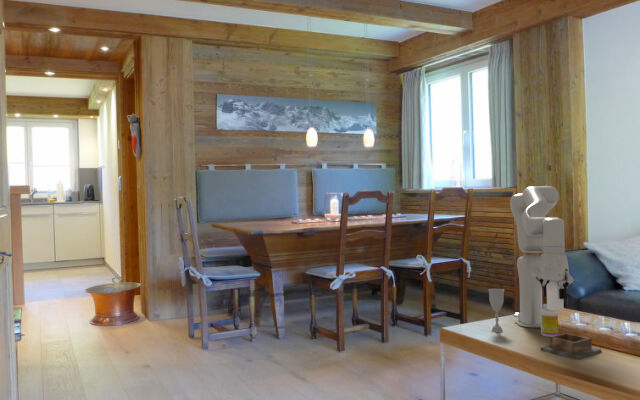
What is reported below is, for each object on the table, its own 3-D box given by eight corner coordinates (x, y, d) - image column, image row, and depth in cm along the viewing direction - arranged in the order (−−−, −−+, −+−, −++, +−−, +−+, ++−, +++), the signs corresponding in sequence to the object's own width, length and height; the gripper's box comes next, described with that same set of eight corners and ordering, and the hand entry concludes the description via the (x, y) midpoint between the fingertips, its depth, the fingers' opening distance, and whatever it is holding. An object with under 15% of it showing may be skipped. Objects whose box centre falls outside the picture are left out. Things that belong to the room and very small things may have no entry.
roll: (544, 278, 206) (547, 276, 210) (545, 309, 206) (548, 306, 210) (561, 279, 202) (564, 277, 207) (562, 310, 202) (565, 308, 207)
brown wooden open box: (540, 349, 205) (540, 336, 205) (564, 343, 213) (563, 330, 213) (577, 359, 192) (577, 345, 192) (601, 352, 200) (600, 338, 200)
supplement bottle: (560, 337, 221) (559, 306, 221) (542, 337, 223) (542, 306, 222) (556, 333, 228) (555, 303, 228) (539, 333, 229) (539, 303, 229)
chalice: (495, 328, 239) (494, 287, 239) (508, 331, 234) (508, 289, 234) (485, 331, 235) (484, 290, 235) (499, 334, 229) (498, 291, 229)
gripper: (528, 249, 212) (529, 295, 212) (568, 252, 197) (569, 301, 197) (540, 248, 216) (541, 293, 216) (580, 251, 201) (581, 299, 201)
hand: (555, 296), depth 206 cm, fingers closed on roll, 5 cm apart
